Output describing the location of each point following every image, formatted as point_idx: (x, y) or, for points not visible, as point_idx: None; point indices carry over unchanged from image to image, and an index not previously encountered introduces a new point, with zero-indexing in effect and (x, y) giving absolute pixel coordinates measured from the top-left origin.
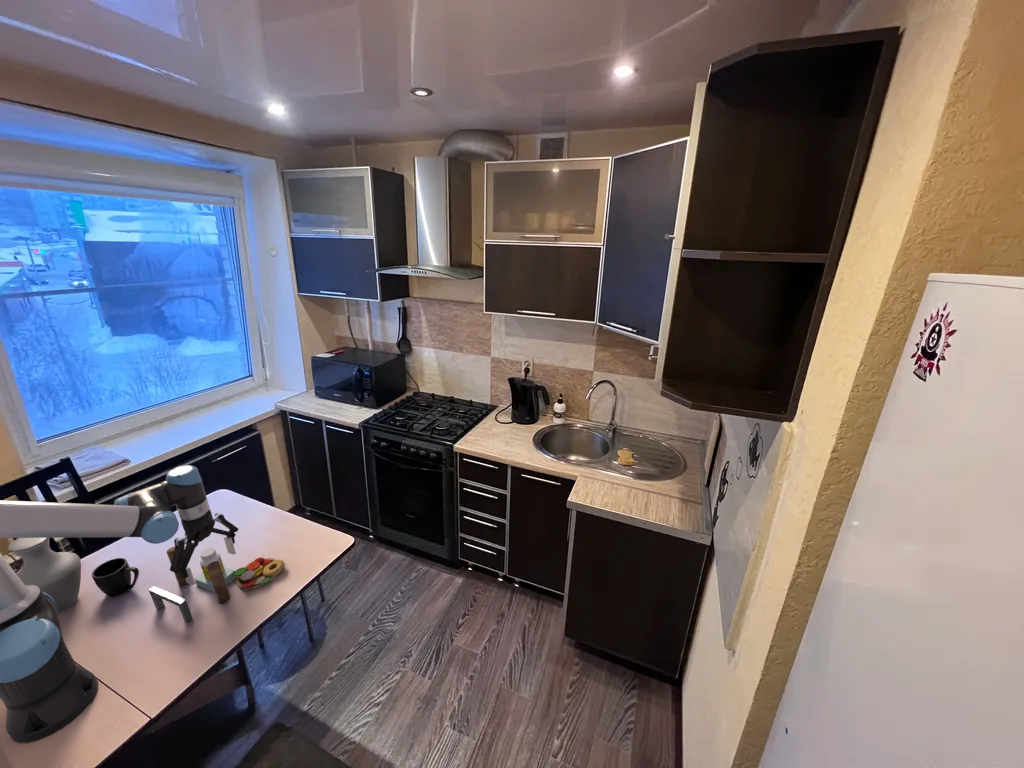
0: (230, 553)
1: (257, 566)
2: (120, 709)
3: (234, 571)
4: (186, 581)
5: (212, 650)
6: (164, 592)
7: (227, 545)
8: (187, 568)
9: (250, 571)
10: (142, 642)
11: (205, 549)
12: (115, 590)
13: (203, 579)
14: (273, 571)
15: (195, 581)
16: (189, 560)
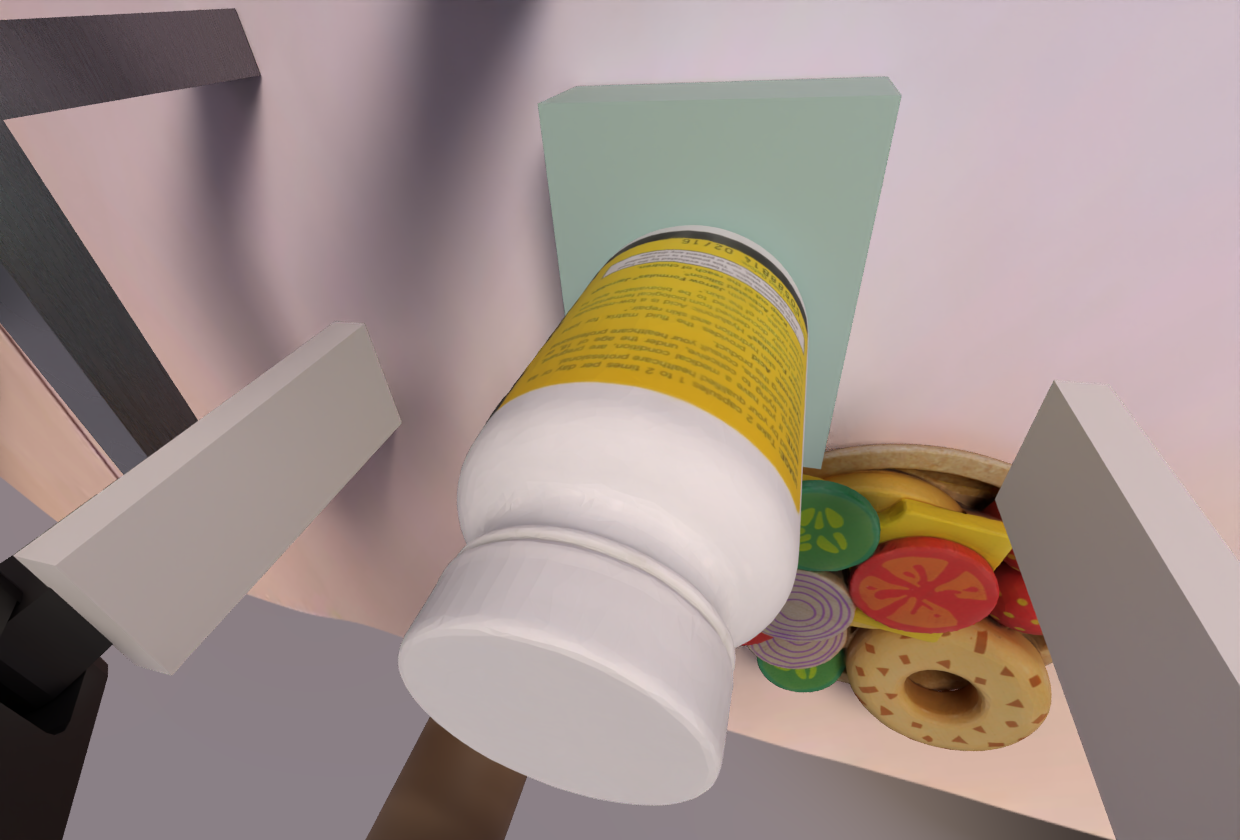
0: (1025, 441)
1: (913, 628)
2: (104, 486)
3: (814, 463)
4: (319, 336)
5: (399, 609)
6: (44, 341)
7: (1118, 581)
8: (139, 663)
9: (835, 608)
10: (127, 271)
11: (572, 668)
12: None
13: (588, 244)
14: (881, 718)
15: (555, 97)
16: (58, 834)
